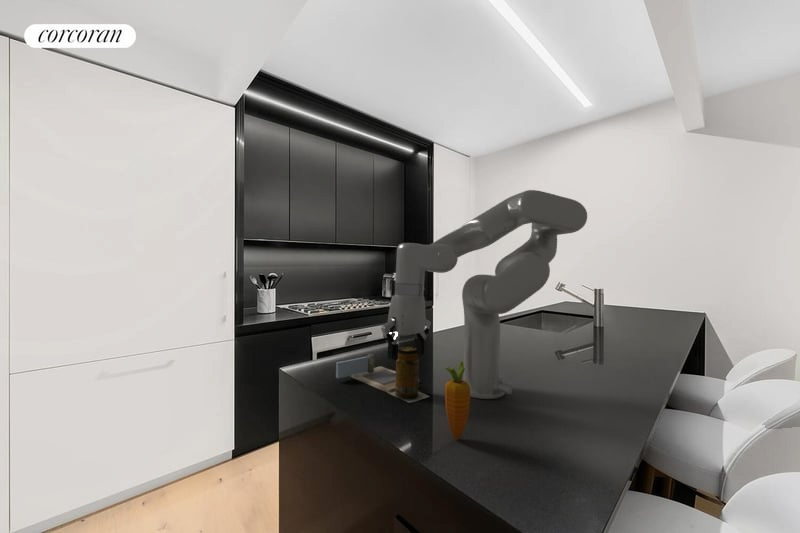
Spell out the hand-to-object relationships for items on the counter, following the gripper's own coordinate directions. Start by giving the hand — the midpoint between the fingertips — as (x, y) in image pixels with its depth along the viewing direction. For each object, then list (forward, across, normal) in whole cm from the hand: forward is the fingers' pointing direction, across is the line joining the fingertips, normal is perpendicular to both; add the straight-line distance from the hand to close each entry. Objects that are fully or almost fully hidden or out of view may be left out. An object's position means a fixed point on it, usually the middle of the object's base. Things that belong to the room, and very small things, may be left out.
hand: (406, 356), depth 87 cm
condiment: (+10, -1, +1) cm, 10 cm away
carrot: (+10, +8, +23) cm, 26 cm away
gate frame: (+10, -4, -12) cm, 17 cm away
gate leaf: (+9, +3, -19) cm, 22 cm away
